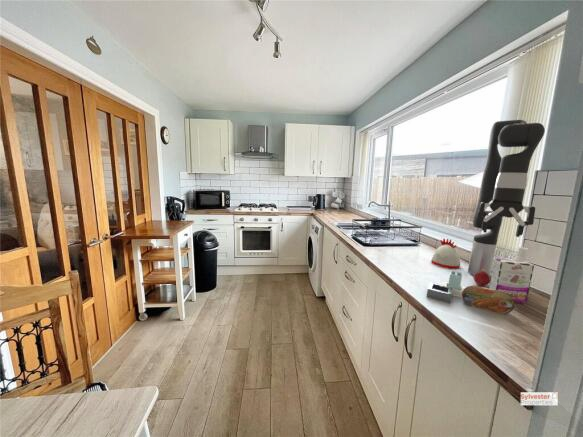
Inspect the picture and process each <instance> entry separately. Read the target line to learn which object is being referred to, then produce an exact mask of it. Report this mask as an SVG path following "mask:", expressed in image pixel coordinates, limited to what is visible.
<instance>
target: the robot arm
mask: <svg viewBox="0 0 583 437" xmlns="http://www.w3.org/2000/svg"><path fill="white" fill-rule="evenodd" d="M545 132H546V131H545V126H544V125H543V124H542V123H540V122H532V123H531V122H530V123H527V121H526V120H524V119H512V120H511V119H510V120H500V121H499V120H498V121H495V122H494V123H493V124H492V126H491V130H490V135H489V141H488V149H487V154H486V156H487V157H486V162H485V165H484V169H483V172H482V177H481V178H482V179H481V184H480V188H479V189H480V190H479V194H478V195H479V197H478V201H477V204H476V209H475V211H474V216H473V221H472V225H473V227H475V228H476V229H481V231H483V233H481V234H476V235H474V236H473V239H472V240H473V241H472V246H471V250H470V251H471V252H470V256H469V262H468V267H467V273H468V274H470V275H472V276H474V275H475V274H476V273H478V272H481V271H482V270H485V272H486V273H487V274H488V275H489V277H490V278H491V275H492V271H493V266H494V260H495V254H496V248H497V243H498V239H499V238H498V237H499V233H500V229H501V226H502V223H503V217H504V218H514V220H515V221H516V222H517V223H518V224H517V225H516V226H517V227H516V231H515V237H517V238H520V236H522V235H523V234H524V230H525V227H526V226H533V224H534V222H535V221H534V219H535V213H536V207H535V206H533V205H529V206H528V205H527V206H524V205H523V203H524V202H523V201H524V198H525V197H524V196H525V192H526V187H527V182H528V173H529V168H530V163H531V160H532V157H533V156H534V153H535V151H536V149H537V147H538V145H539V144H540V142H541V141H542V139H543V137H544V135H545ZM498 145H499V146H500V147H502V148H520V147H521V148H524V149H523V150H522V151H519V152H518V153H512V154H506V155H504V156H501V155H500V152H499V149H498ZM488 208H490V209H491V210H487V209H488ZM523 210H524V212H525V214H526V213H527V214H526V220H523V219H522V217H521V216H520V215H519V213H521V212H522V211H523ZM487 230H489V231H488V232H487Z"/></svg>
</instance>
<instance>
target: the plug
mask: <svg viewBox="0 0 583 437" xmlns="http://www.w3.org/2000/svg"><path fill="white" fill-rule="evenodd" d="M462 278H463V274H462V271H456V270H455V269H451V271H450V273H449V280H448V282H449V284H448V287H452V288H453V289H457V290H460V285H461V283H462Z"/></svg>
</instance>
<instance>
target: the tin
mask: <svg viewBox="0 0 583 437" xmlns="http://www.w3.org/2000/svg"><path fill="white" fill-rule="evenodd" d="M461 299H462V300H463V302H464V304H465V305H466V306H468V307H473V308H478V309H481V310H485V311H489V312H494V313H498V314H502V315H507V314H510V313H511V312H512V311H513V310H514V309H515V302H514V301H513V299H512V298H511V297H510V296H509V295H508V294H507V293H505V292H503V291H500V290H495V289H490V287H489V288H488V287H484V286H479V285H468V286H466V287H464V290H463V292H462V298H461Z"/></svg>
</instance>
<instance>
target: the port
mask: <svg viewBox="0 0 583 437" xmlns="http://www.w3.org/2000/svg"><path fill="white" fill-rule="evenodd" d="M452 296H453V295H452V287H448V286H444V284H439V283H435V282H432V281H430V282H429V283H428V287H427V291H426V297H427V298H428V299H433V300H436V301H439V302H443V303H445V304H451V300H452Z"/></svg>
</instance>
